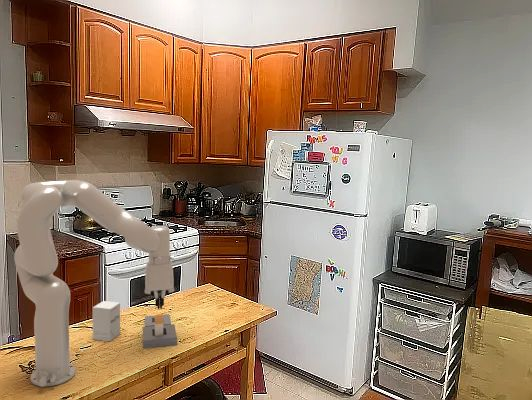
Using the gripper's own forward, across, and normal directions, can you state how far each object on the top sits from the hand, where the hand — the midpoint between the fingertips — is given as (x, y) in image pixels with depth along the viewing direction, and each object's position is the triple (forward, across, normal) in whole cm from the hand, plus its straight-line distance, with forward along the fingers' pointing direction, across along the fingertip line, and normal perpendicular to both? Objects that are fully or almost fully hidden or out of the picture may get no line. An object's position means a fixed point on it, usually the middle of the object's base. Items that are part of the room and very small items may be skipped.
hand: (159, 307), depth 162 cm
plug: (+12, 0, 0) cm, 13 cm away
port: (+12, 0, 0) cm, 13 cm away
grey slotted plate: (+12, 0, -14) cm, 19 cm away
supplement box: (+13, +19, -7) cm, 24 cm away
